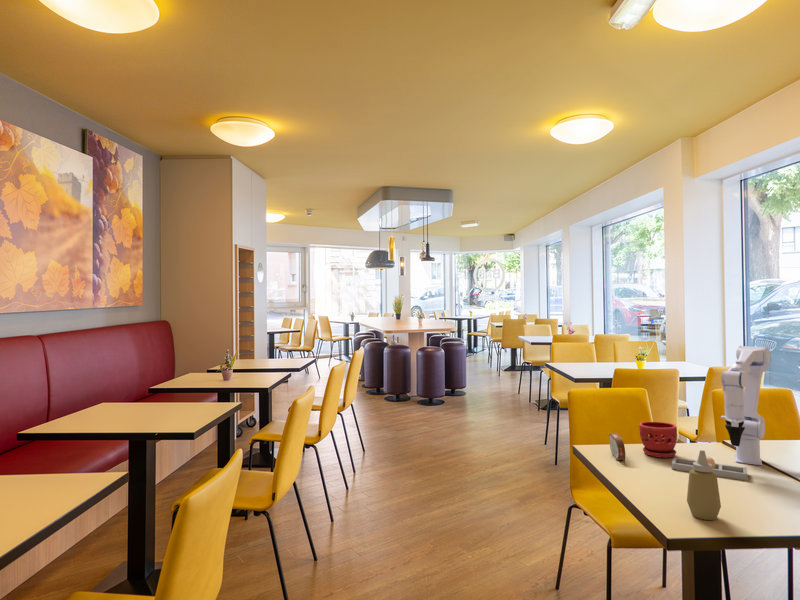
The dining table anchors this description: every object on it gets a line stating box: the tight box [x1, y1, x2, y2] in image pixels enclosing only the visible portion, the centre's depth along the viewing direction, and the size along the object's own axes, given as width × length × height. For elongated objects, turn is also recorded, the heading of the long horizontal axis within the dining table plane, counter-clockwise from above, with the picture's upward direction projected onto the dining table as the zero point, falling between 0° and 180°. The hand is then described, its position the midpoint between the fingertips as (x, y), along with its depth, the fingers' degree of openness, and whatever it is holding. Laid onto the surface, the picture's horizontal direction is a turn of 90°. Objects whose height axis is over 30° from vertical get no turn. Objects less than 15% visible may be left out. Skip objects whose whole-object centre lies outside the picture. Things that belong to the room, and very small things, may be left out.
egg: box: [706, 456, 716, 469], centre depth 170 cm, size 4×4×4 cm
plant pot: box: [638, 421, 678, 459], centre depth 190 cm, size 13×13×12 cm
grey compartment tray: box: [671, 457, 748, 482], centre depth 170 cm, size 8×22×2 cm, turn 56°
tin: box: [608, 432, 627, 461], centre depth 187 cm, size 15×3×8 cm, turn 168°
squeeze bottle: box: [686, 450, 722, 521], centre depth 133 cm, size 8×8×18 cm
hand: (735, 443), depth 171 cm, fingers open, 7 cm apart
